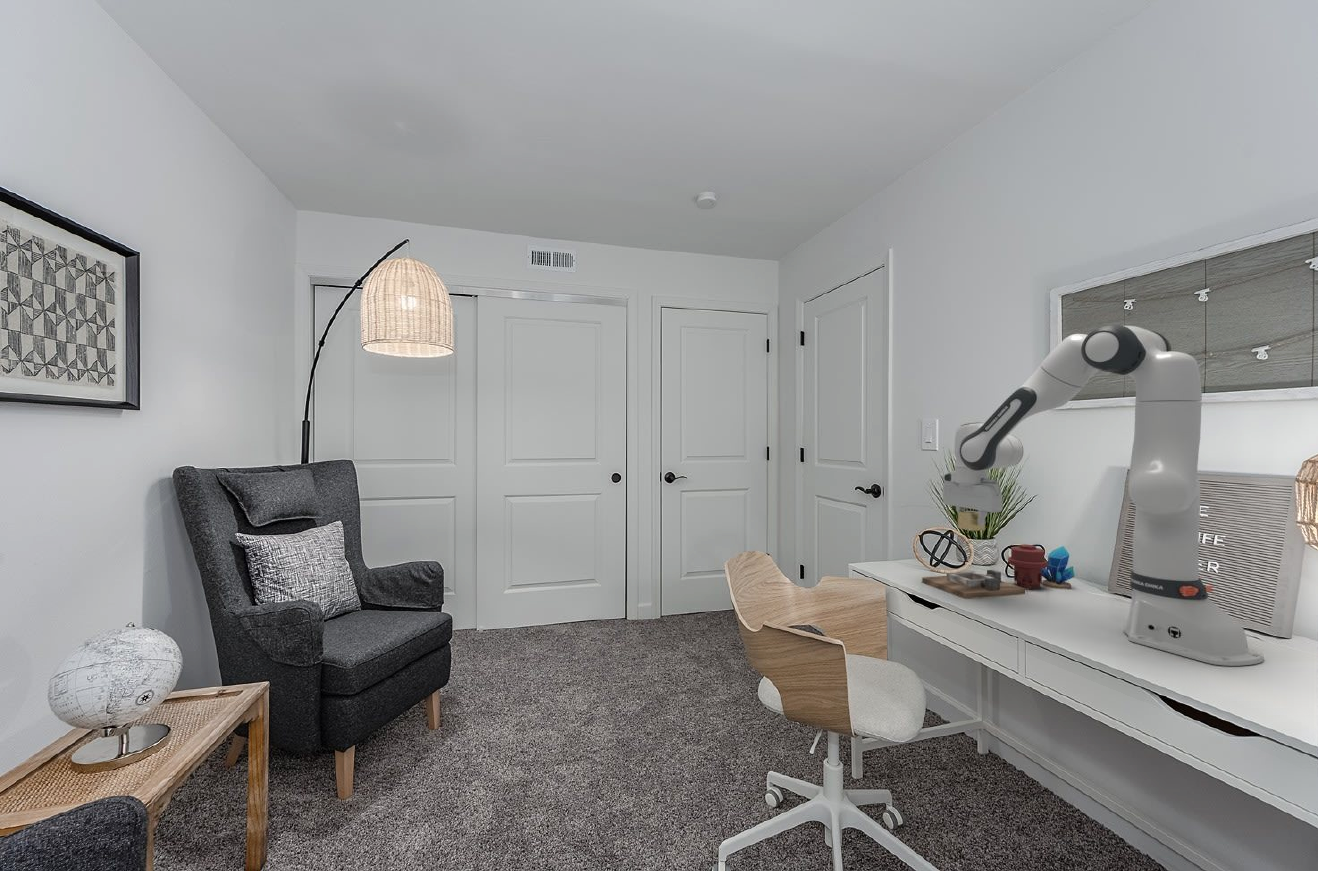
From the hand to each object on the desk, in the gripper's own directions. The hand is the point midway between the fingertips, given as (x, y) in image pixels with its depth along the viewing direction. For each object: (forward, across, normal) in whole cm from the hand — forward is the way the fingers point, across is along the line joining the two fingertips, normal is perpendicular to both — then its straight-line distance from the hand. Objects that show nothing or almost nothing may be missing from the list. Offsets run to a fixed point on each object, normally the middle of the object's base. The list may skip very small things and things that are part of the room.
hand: (971, 523), depth 171 cm
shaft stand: (+19, 0, 0) cm, 19 cm away
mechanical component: (+19, -3, -17) cm, 26 cm away
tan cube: (+2, 0, 0) cm, 2 cm away
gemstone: (+19, -4, -26) cm, 33 cm away
